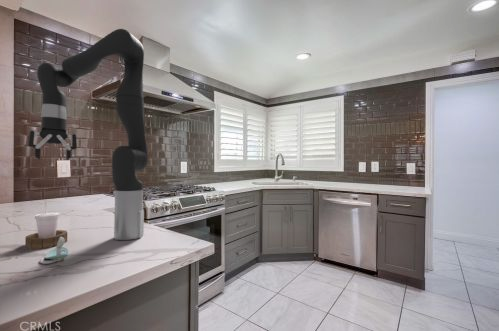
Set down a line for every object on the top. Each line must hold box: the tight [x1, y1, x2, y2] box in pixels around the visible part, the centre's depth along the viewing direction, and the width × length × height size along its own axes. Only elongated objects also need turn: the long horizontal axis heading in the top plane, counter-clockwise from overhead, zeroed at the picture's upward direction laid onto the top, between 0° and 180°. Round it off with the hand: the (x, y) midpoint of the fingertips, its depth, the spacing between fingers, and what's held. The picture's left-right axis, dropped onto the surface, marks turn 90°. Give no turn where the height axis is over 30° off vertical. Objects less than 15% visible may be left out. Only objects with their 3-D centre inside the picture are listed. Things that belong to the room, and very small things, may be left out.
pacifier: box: [39, 237, 69, 265], centre depth 65 cm, size 7×6×6 cm
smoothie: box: [34, 200, 61, 238], centre depth 78 cm, size 6×6×14 cm
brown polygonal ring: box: [24, 229, 68, 250], centre depth 78 cm, size 10×10×3 cm
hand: (53, 159), depth 92 cm, fingers open, 8 cm apart
